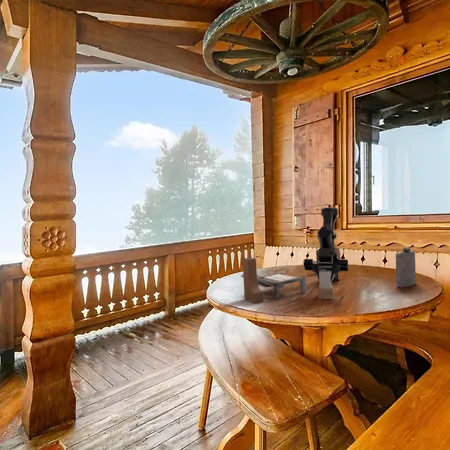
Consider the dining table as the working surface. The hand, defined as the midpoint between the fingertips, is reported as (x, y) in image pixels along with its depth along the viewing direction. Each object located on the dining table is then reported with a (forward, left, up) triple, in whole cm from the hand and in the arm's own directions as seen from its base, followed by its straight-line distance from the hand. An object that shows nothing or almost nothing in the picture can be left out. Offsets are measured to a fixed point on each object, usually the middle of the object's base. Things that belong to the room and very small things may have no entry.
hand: (325, 281), depth 133 cm
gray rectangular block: (-1, -1, -3) cm, 3 cm away
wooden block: (+30, -5, -7) cm, 32 cm away
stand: (-1, -1, -7) cm, 7 cm away
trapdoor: (+16, -15, -3) cm, 22 cm away
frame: (+16, -15, -7) cm, 23 cm away
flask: (-45, -8, -7) cm, 46 cm away
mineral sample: (-27, -50, -7) cm, 57 cm away
